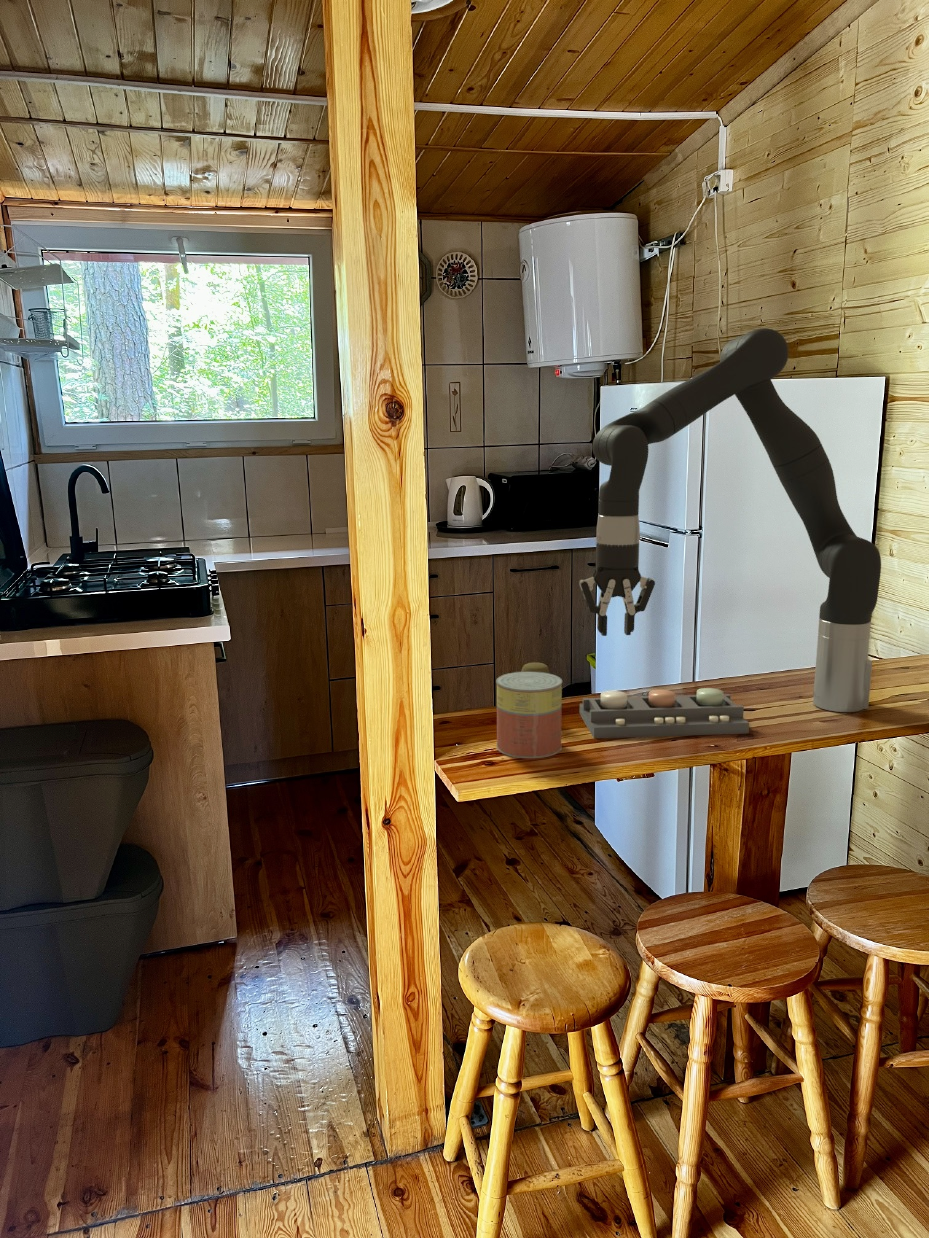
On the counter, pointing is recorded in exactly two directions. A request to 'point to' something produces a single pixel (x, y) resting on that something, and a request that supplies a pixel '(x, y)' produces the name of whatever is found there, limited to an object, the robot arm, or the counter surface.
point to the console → (663, 718)
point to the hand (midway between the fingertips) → (615, 634)
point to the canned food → (529, 714)
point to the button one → (613, 699)
